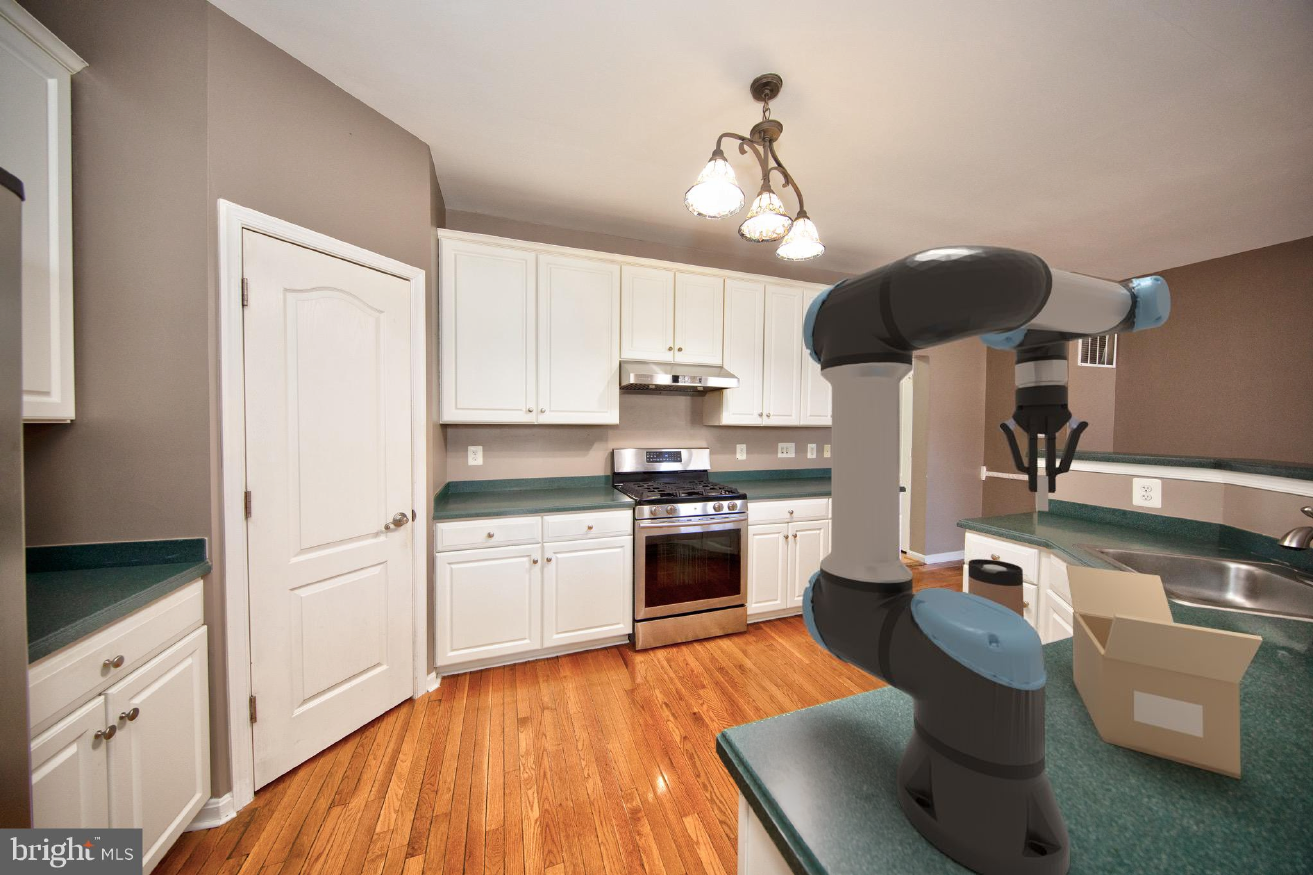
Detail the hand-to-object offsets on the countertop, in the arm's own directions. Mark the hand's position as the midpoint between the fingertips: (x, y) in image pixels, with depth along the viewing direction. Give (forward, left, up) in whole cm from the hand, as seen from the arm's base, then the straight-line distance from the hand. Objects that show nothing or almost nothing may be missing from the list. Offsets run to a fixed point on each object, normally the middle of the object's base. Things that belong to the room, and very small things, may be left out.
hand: (1041, 509), depth 82 cm
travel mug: (-14, +8, -29) cm, 33 cm away
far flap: (-4, -9, -13) cm, 16 cm away
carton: (-16, -9, -28) cm, 34 cm away
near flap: (-28, -9, -13) cm, 32 cm away
